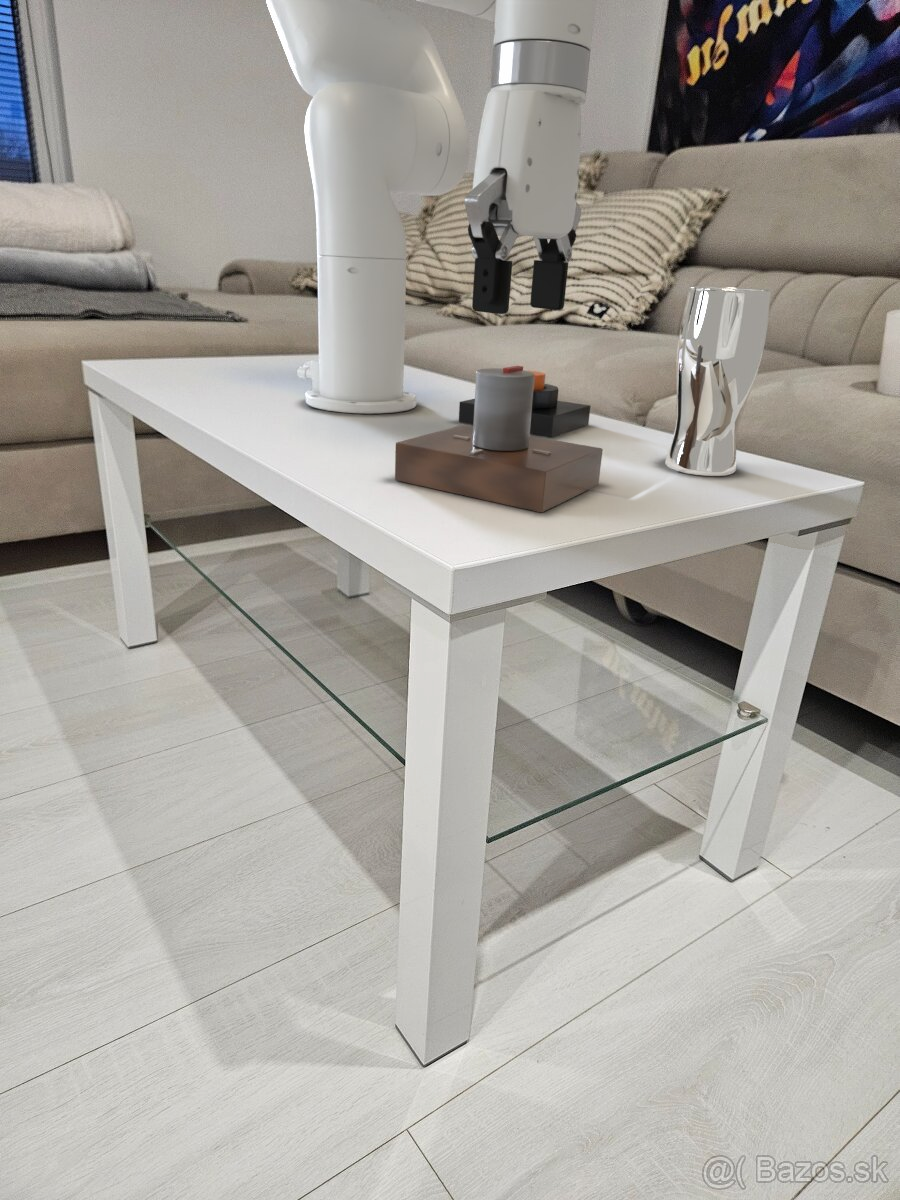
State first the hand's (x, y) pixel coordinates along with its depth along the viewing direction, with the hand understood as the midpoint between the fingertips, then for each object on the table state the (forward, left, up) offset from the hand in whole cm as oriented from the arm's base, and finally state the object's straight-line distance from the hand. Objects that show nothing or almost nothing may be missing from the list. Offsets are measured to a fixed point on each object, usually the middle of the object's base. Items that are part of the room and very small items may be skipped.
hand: (519, 310), depth 71 cm
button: (-5, +13, -9) cm, 16 cm away
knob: (+5, -10, -9) cm, 15 cm away
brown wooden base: (+5, -10, -12) cm, 17 cm away
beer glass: (+16, +7, -13) cm, 21 cm away
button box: (-5, +13, -12) cm, 18 cm away
